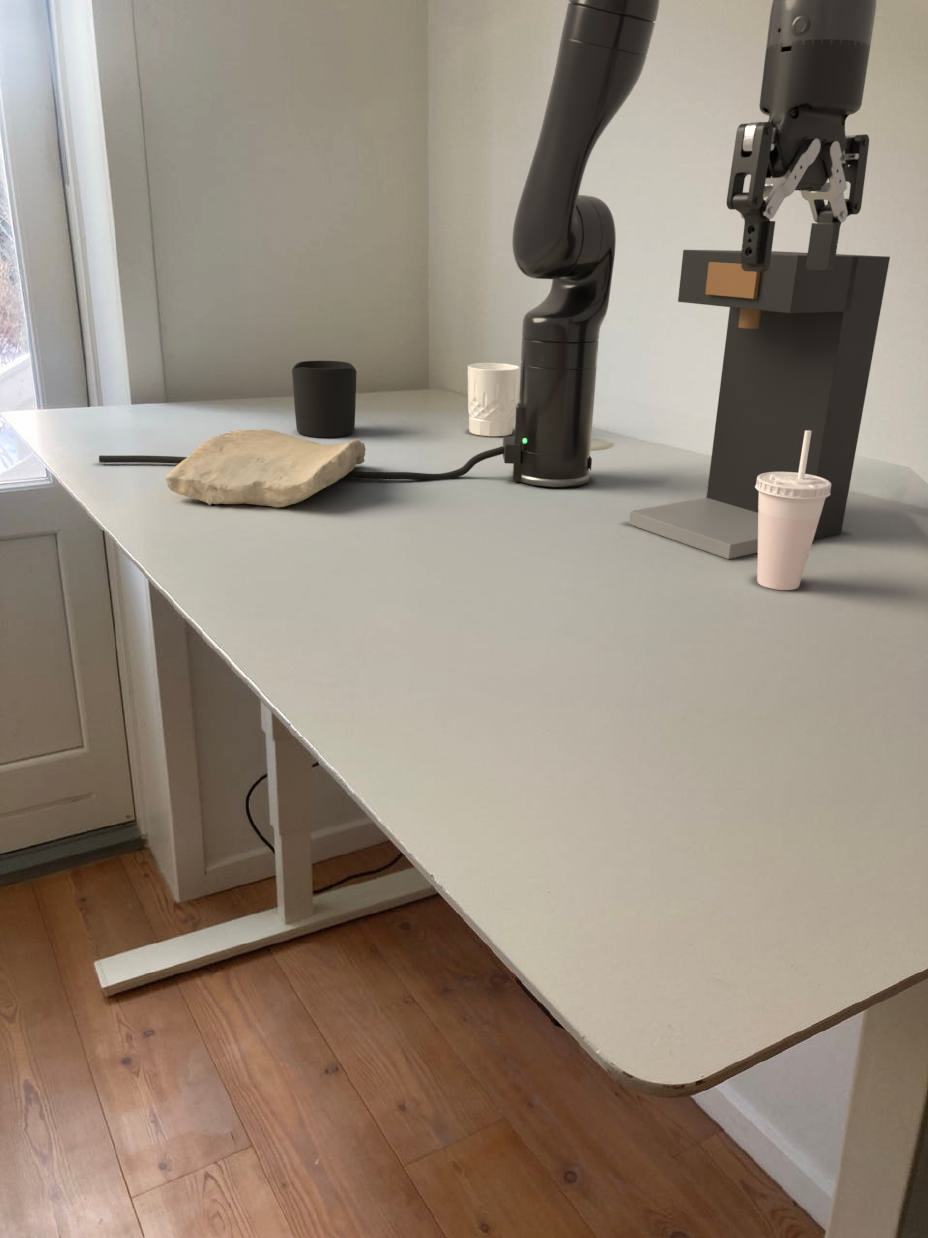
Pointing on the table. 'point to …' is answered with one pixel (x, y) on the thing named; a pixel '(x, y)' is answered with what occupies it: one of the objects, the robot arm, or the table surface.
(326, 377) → the pen holder
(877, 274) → the coffee maker
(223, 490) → the beige stone slab
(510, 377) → the white cup
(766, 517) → the smoothie
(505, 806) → the table surface
